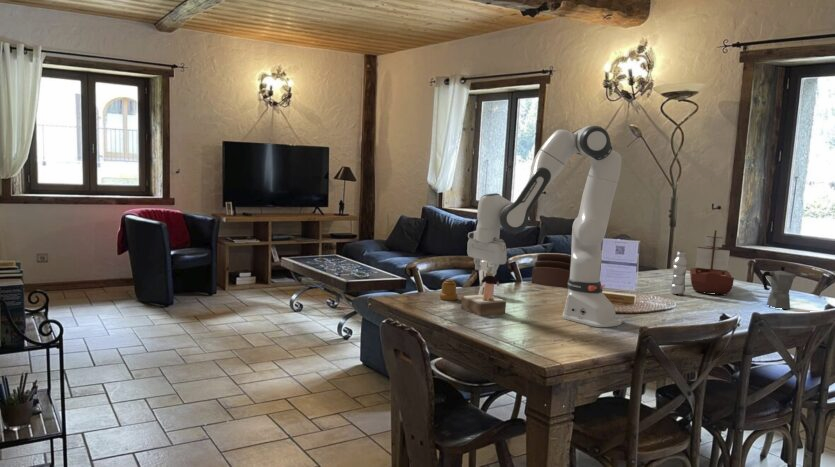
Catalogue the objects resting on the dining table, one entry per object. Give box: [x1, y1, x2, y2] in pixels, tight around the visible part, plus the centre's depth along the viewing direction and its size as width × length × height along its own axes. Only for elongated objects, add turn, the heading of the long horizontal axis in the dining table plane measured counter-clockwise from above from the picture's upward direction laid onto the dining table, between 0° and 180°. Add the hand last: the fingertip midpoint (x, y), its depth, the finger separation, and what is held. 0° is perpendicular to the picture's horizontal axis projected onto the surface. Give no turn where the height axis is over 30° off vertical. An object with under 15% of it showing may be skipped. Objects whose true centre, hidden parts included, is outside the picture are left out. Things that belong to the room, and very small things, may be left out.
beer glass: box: [478, 260, 496, 295], centre depth 274 cm, size 7×7×15 cm
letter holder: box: [531, 253, 571, 289], centre depth 306 cm, size 10×20×14 cm, turn 67°
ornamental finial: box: [439, 279, 459, 302], centre depth 263 cm, size 8×8×8 cm
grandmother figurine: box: [479, 267, 500, 300], centre depth 242 cm, size 8×4×13 cm, turn 112°
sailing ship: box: [689, 230, 735, 295], centre depth 312 cm, size 18×40×29 cm, turn 158°
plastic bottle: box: [670, 250, 689, 296], centre depth 295 cm, size 6×7×20 cm
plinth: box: [460, 294, 507, 317], centre depth 245 cm, size 12×12×5 cm
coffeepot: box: [761, 266, 798, 310], centre depth 277 cm, size 15×9×18 cm, turn 92°
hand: (485, 272), depth 244 cm, fingers open, 8 cm apart
